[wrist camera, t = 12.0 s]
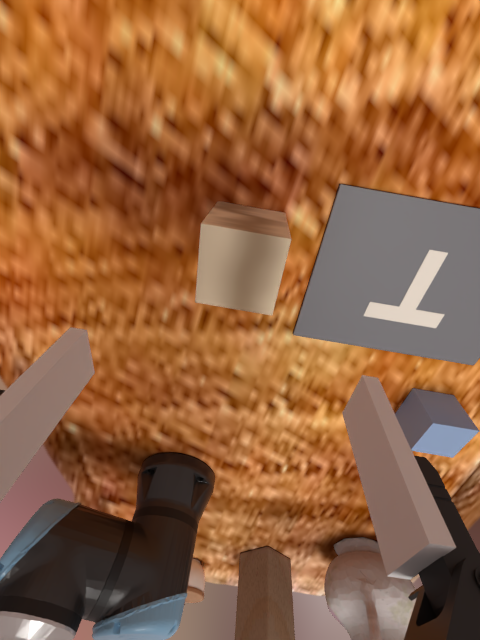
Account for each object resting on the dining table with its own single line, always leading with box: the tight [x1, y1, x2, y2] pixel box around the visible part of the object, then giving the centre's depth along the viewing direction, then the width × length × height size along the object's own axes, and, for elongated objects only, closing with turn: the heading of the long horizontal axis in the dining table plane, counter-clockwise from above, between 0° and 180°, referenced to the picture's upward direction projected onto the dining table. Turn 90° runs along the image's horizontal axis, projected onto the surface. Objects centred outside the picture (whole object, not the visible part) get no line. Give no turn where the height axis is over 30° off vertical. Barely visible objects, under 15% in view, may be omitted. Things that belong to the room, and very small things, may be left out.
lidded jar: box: [184, 558, 205, 605], centre depth 81 cm, size 11×11×9 cm
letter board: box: [293, 184, 480, 365], centre depth 32 cm, size 24×18×1 cm
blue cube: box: [395, 388, 479, 457], centre depth 40 cm, size 6×6×6 cm
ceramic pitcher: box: [325, 537, 417, 640], centre depth 60 cm, size 22×20×25 cm
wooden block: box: [235, 546, 295, 640], centre depth 70 cm, size 10×10×20 cm
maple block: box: [195, 201, 291, 315], centre depth 27 cm, size 7×7×9 cm
